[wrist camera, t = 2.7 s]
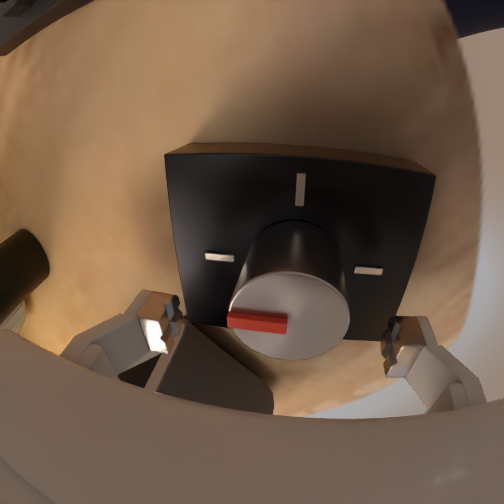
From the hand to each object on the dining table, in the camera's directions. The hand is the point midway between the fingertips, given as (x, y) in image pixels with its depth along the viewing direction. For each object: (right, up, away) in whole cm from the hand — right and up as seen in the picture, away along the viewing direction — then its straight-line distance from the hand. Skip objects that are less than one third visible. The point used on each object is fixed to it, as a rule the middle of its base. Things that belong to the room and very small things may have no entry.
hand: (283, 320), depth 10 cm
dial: (+1, +2, +3) cm, 4 cm away
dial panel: (+1, +4, +6) cm, 7 cm away
